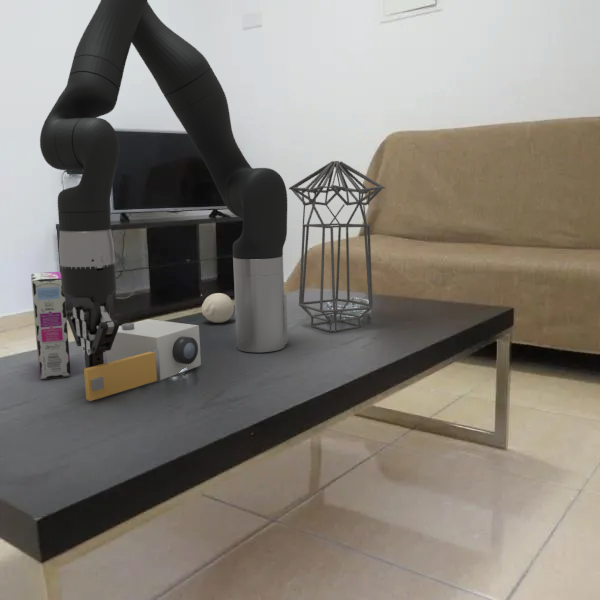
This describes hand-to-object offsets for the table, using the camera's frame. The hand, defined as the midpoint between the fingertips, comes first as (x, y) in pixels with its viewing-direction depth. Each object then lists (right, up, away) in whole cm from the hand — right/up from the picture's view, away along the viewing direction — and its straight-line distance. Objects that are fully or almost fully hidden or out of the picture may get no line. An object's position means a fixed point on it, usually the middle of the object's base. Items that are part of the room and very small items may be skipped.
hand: (95, 376), depth 97 cm
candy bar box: (-11, -1, +14) cm, 18 cm away
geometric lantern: (+39, +6, +43) cm, 58 cm away
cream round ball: (+12, +6, +50) cm, 51 cm away
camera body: (+6, 0, +14) cm, 15 cm away
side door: (+4, -2, +1) cm, 5 cm away
